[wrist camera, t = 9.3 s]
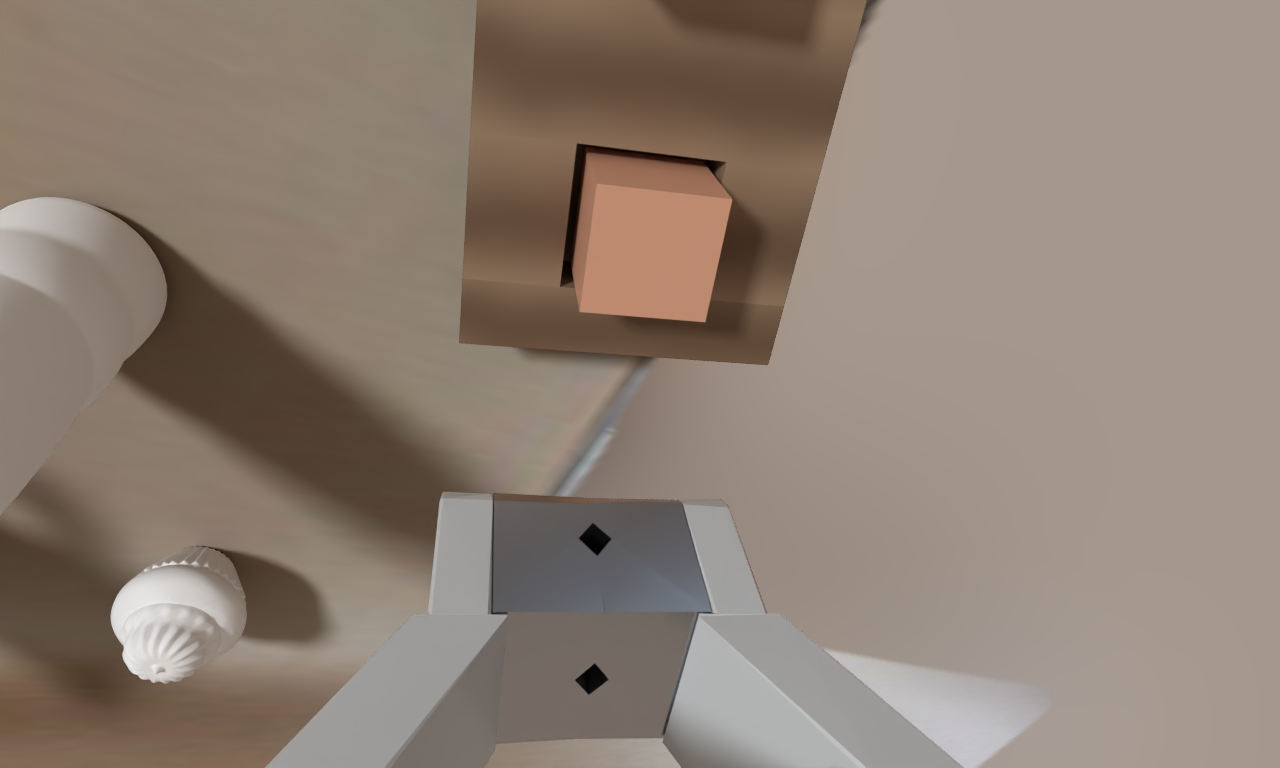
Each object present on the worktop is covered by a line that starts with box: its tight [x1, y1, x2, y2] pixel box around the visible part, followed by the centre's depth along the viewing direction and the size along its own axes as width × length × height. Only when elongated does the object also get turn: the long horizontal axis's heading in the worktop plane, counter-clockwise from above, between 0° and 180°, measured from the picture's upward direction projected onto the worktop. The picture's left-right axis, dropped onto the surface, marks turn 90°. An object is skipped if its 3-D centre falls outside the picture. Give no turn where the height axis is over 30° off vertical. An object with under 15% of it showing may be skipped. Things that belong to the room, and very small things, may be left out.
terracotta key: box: [570, 147, 732, 322], centre depth 32 cm, size 5×5×5 cm
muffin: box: [111, 546, 247, 684], centre depth 40 cm, size 6×6×7 cm
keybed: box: [459, 0, 867, 365], centre depth 31 cm, size 24×14×4 cm, turn 171°
